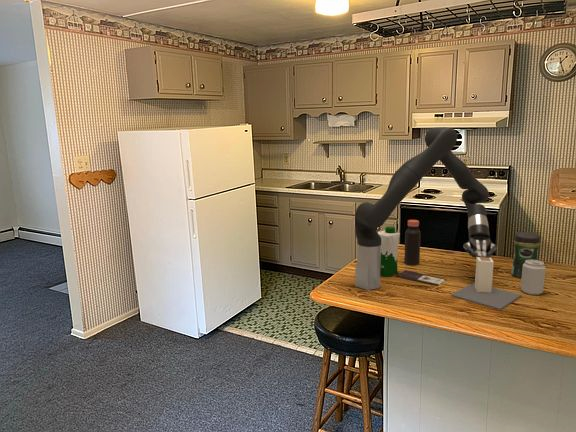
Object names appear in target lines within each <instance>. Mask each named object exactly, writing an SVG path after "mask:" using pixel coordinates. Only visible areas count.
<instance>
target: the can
mask: <svg viewBox="0 0 576 432" xmlns="http://www.w3.org/2000/svg"><path fill="white" fill-rule="evenodd" d="M545 276H546V266H545V263H544V261H541V260H539V259H537V260H526V261H525V263H524V264H523V268H522V278H521V282H520V291H522V292H523V293H524V294H527V295H530V296H538V295H541V294H543V293H544V288H545V287H544V286H545Z"/></svg>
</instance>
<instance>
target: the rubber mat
mask: <svg viewBox="0 0 576 432" xmlns="http://www.w3.org/2000/svg"><path fill="white" fill-rule="evenodd" d="M450 297H453V298H457V299H460V300H463V301H466V302H470V303H474V304H477V305H481V306H484V307H488V308H491V309H494V310H498V311H502V310H503V309H505V308H506V307H508V306H509V305H510V304H513V303H514V302H515V301H517V300H518V299H519V298H521V297H522V294H521V293H517V292H511V291H507V290H504V289H500V288H496V287H493V286H492V290H491V292H477V291H476V289H475V282H472V283H470V284H468V285H467V286H464V287H463V288H461V289H458V290H457V291H455V292H453V293H451V294H450Z"/></svg>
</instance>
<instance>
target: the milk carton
mask: <svg viewBox="0 0 576 432" xmlns="http://www.w3.org/2000/svg"><path fill="white" fill-rule="evenodd" d="M377 232H378V234H379V235H380V237H381V277H386V278H390V277H391V276H396V275H398V274H399V273H398V254H399V239H400V235H401V233H400V232H397V231H396V227H394V226H386V227H385V230H381V231H377Z"/></svg>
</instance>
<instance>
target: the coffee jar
mask: <svg viewBox="0 0 576 432" xmlns="http://www.w3.org/2000/svg"><path fill="white" fill-rule="evenodd" d="M540 237H541V236H540V234H539V233H538V232H537V233H536V232H528V231H516V233H515V235H514V239H513V245H514V255H513V259H512V266H511V275H512V276H514V277H517V278H521V279H522V268H523V264H524V263H525V261H526V260H538V252H539V251H538V250H539V247H540V246H541V238H540Z"/></svg>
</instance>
